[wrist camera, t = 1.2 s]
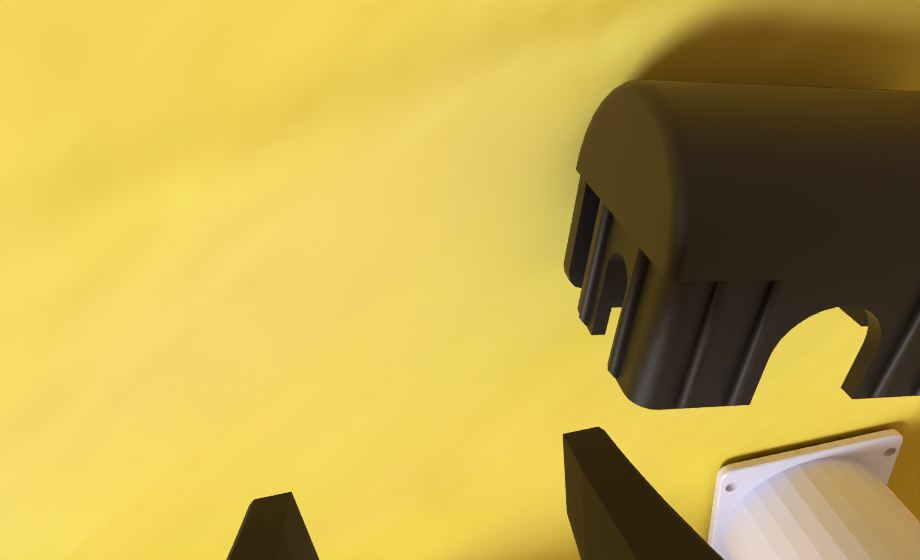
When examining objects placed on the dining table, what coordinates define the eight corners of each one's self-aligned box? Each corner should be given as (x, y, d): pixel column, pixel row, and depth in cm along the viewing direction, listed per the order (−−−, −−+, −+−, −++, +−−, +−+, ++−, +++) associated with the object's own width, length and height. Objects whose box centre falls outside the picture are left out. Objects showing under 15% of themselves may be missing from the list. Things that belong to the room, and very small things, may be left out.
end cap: (915, 63, 19) (1169, 144, 13) (823, 273, 22) (989, 409, 17) (585, 45, 17) (712, 130, 11) (545, 278, 20) (624, 431, 15)
